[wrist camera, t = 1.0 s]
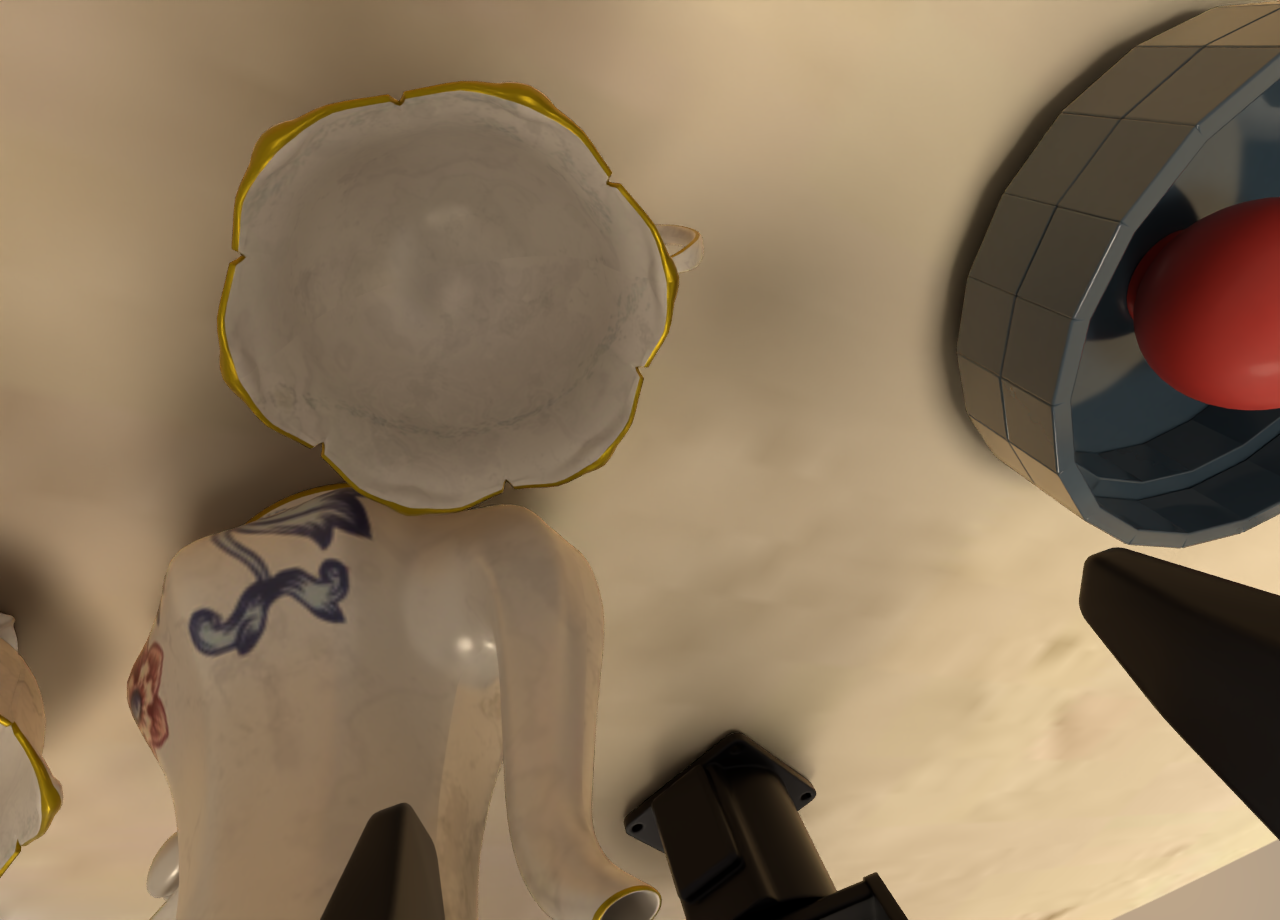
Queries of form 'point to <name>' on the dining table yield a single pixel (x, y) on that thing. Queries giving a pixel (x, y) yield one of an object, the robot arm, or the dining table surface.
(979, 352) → the bowl
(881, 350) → the dining table surface
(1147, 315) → the apple
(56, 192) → the dining table surface
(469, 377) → the chinaware
